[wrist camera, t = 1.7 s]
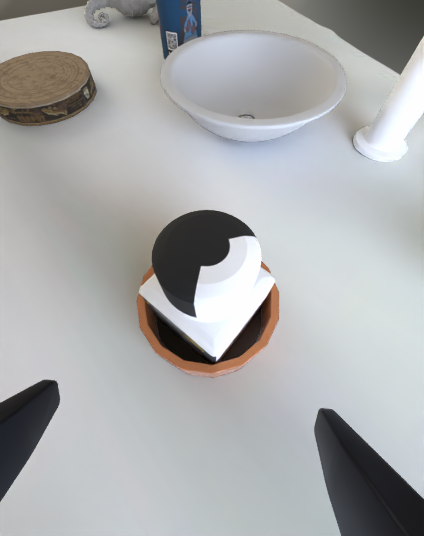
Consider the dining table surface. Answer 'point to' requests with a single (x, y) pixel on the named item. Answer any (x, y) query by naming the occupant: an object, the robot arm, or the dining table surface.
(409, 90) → the candle
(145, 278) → the terracotta pot
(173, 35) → the soda can
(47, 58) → the brown round flat disc
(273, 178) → the dining table surface
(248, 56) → the soup bowl
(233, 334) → the medicine bottle
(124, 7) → the seahorse
